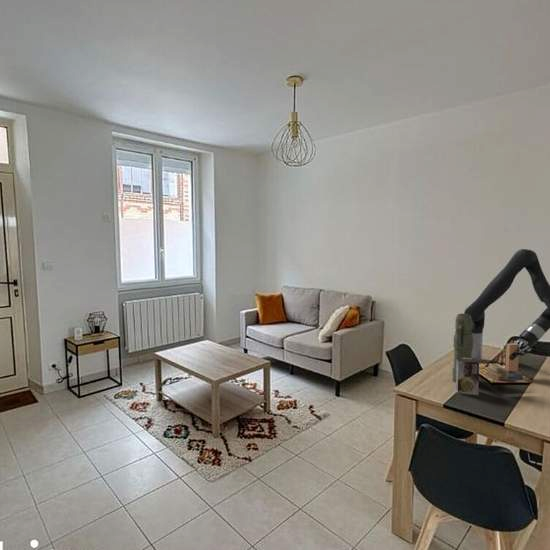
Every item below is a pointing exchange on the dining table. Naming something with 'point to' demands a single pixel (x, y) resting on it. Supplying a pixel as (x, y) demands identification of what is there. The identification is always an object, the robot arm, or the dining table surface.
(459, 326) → the thermos
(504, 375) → the offcut pile
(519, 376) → the rack
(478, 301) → the robot arm
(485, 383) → the dining table surface
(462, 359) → the coffee box
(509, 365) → the board
